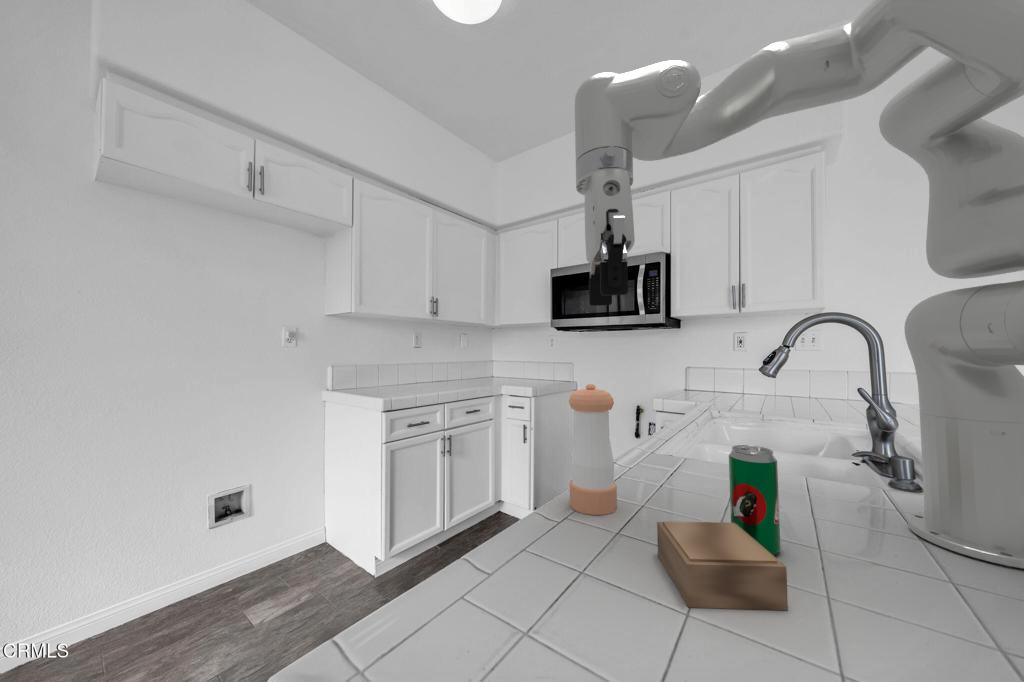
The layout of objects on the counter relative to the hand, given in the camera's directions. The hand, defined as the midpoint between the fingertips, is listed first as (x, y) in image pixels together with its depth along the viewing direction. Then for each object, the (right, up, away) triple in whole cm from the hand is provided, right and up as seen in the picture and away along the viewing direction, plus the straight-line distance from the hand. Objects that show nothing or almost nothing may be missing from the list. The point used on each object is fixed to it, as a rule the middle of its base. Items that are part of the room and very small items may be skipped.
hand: (606, 300), depth 50 cm
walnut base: (+9, -31, -11) cm, 34 cm away
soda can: (+17, -31, -4) cm, 36 cm away
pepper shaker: (0, -32, +9) cm, 33 cm away
